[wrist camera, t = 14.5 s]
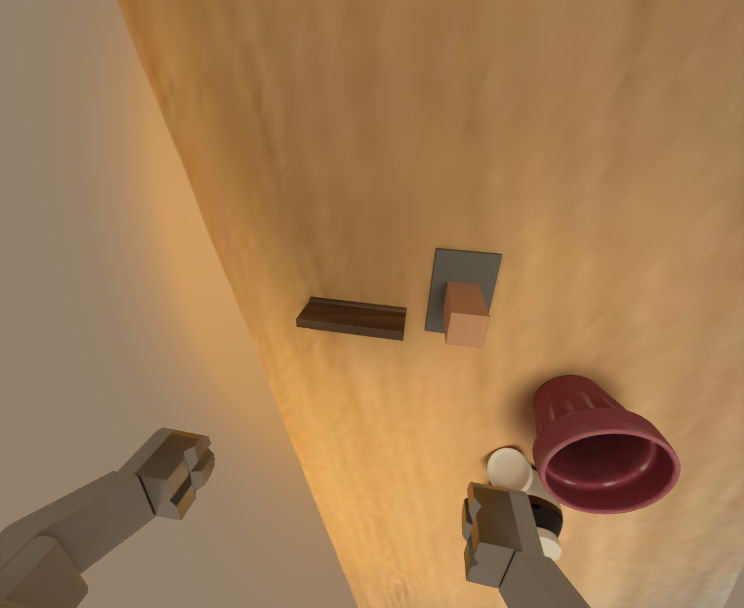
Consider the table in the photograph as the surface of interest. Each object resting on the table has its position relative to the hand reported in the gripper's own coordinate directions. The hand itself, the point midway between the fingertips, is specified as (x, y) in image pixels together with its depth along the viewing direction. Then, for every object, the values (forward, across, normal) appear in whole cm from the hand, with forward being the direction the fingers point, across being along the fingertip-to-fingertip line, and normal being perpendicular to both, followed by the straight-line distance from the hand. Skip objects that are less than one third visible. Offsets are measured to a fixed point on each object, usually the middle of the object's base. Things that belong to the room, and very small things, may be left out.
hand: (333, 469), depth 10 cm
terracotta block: (+34, -8, +9) cm, 37 cm away
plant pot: (+35, -26, +24) cm, 50 cm away
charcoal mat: (+35, -8, +9) cm, 37 cm away
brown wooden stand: (+35, +6, +14) cm, 38 cm away
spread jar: (+35, -22, +41) cm, 58 cm away
